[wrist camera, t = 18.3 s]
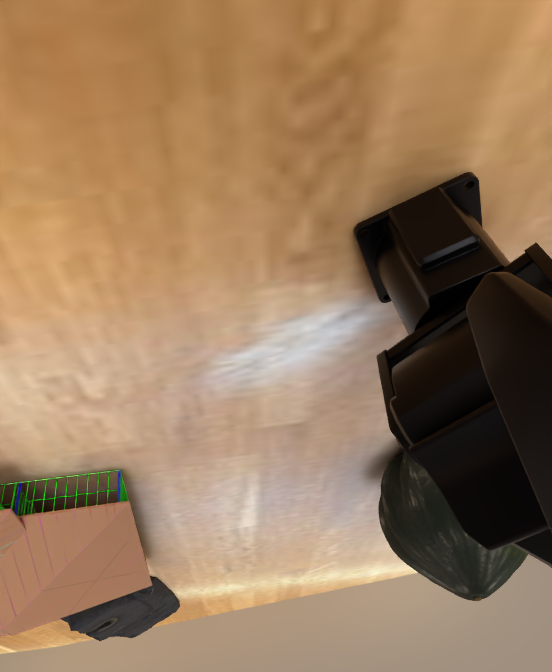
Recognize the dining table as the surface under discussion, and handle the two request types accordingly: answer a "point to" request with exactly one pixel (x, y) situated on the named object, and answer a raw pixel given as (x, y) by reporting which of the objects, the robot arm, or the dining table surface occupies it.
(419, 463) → the robot arm
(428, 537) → the squash
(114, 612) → the dark slate chunk
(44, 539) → the house
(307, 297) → the dining table surface
